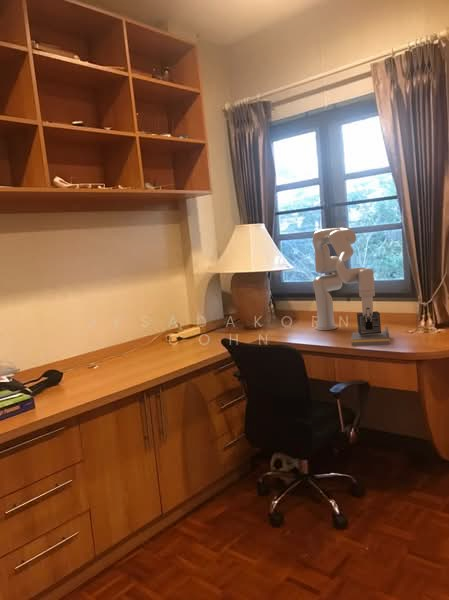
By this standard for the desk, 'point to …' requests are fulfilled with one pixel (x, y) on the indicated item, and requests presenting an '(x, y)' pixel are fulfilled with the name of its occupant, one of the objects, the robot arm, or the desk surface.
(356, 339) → the dock
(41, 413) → the desk surface
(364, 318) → the small box
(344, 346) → the desk surface
